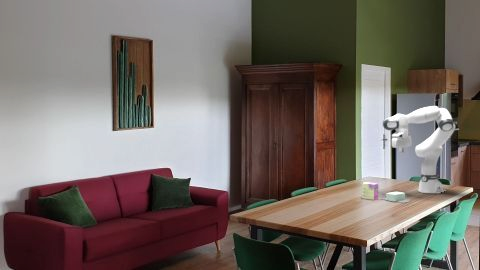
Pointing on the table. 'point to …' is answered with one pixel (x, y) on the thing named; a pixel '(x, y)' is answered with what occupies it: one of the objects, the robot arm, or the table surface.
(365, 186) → the box
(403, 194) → the block
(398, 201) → the mat
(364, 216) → the table surface
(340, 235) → the table surface
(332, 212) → the table surface
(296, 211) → the table surface
